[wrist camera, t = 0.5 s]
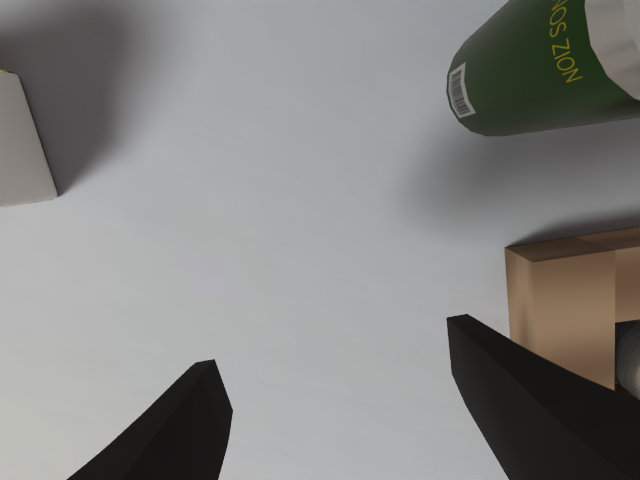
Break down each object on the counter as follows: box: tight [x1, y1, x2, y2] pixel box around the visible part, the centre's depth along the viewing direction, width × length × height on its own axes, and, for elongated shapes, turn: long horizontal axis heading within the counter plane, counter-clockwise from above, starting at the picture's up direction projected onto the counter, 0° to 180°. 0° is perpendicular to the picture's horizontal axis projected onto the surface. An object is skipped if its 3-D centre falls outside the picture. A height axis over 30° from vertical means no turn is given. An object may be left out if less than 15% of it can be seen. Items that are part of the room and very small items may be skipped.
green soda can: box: [446, 0, 640, 136], centre depth 12 cm, size 5×5×12 cm
